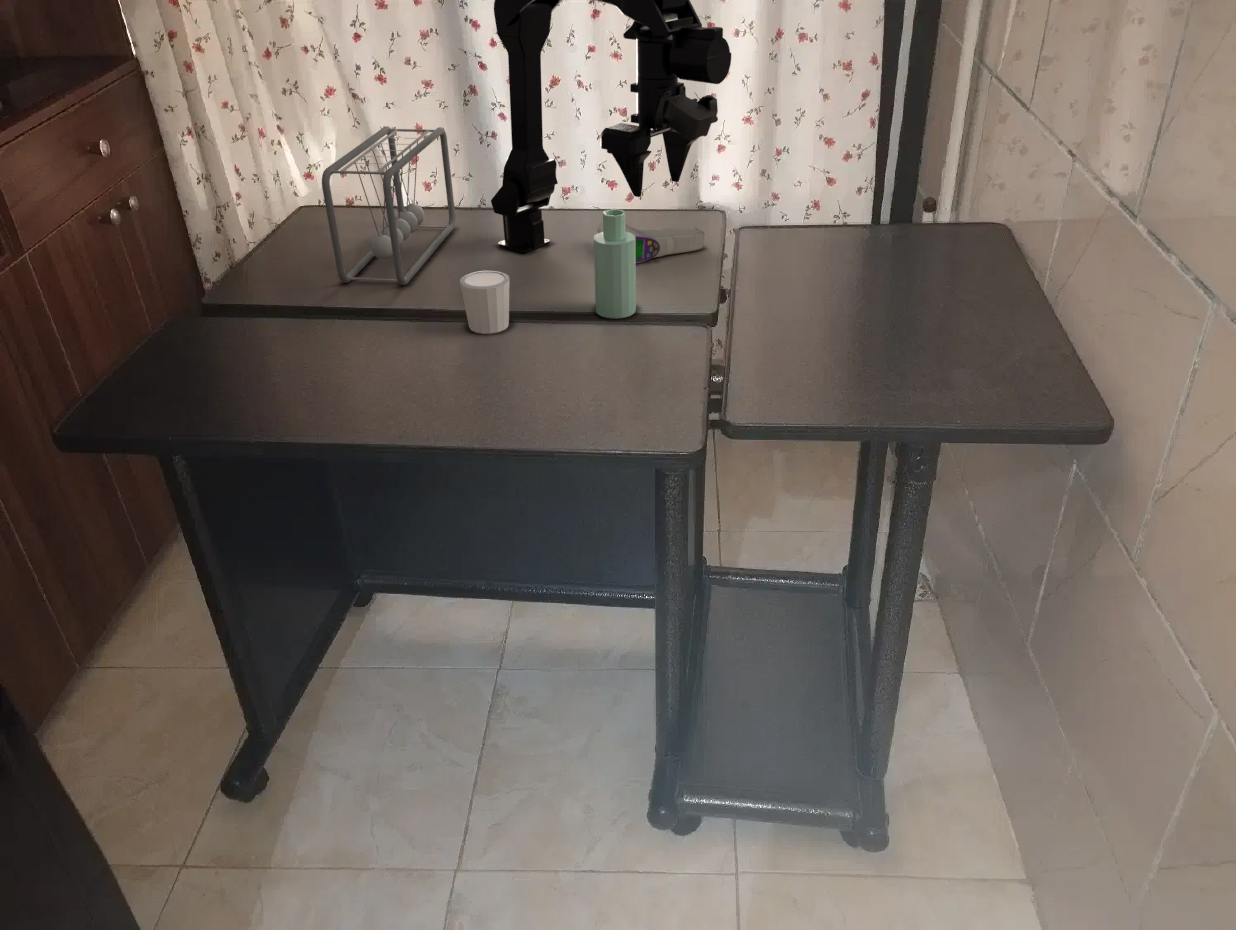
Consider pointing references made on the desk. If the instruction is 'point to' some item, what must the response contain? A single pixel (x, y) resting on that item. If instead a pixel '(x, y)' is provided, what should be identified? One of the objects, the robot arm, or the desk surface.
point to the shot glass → (486, 301)
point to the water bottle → (615, 267)
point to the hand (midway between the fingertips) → (656, 188)
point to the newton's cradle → (390, 203)
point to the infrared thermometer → (663, 241)
